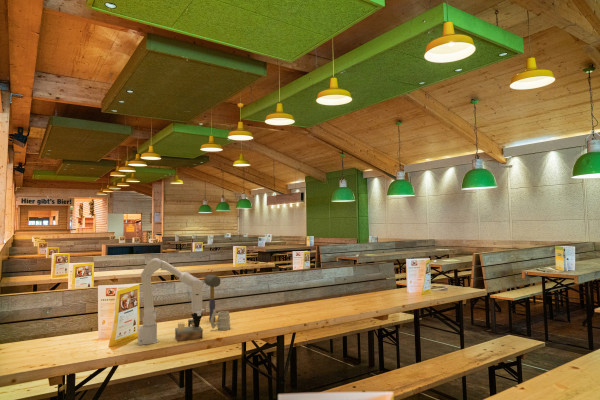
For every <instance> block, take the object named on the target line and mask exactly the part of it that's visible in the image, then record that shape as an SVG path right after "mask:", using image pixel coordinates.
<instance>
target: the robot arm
mask: <svg viewBox="0 0 600 400" xmlns="http://www.w3.org/2000/svg"><path fill="white" fill-rule="evenodd" d="M159 269H160V271H167V272H168V273H171V274H173V275H175V276H176V277H177V278H178V279H179V281H180V282H181V283H182V284H184V285H186V286H187V287H191V291H192V292H191V310H190V311H191V317H192V319H193V321H194V326H195V327H199V326H200V324H201V320H202V317H203V312H204V311H205V308H203V287H204V286H203V282H202V281H201V279H200V278H198V277H196V276H194V275H192V274H191V273H190V272H189V271H181V270H180V269H178V268H176V267H175V266H173V265H171V264H170V263H169V262H168V261H164V260H163V259H162V260H161V258H158V257H154V258H151V259H150V260H149V261H148V262H147V263H146V265H145V267H144V268H143V270H142V272H141V273H140V280H141V289H142V300H143V308H144V309H143V317H142V324H141V325H139V326H138V328H137V330H138V331H137V344H138V346H143V345H150V344H156V343H157V344H158V343H159V340H158V323H157V321H156V320H157V316H158V315H157V312H156V311H155V307H154V298H153V289H152V288H153V287H152V279H151V278H152V275H153V274H154V273H156V272H157V271H159Z"/></svg>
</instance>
